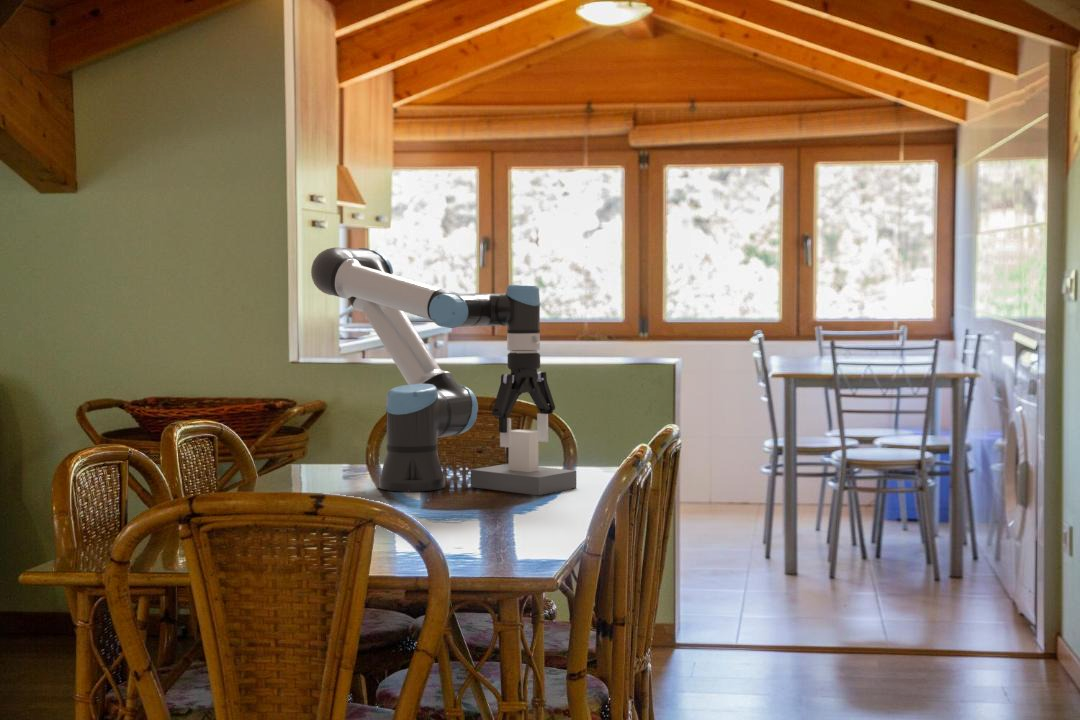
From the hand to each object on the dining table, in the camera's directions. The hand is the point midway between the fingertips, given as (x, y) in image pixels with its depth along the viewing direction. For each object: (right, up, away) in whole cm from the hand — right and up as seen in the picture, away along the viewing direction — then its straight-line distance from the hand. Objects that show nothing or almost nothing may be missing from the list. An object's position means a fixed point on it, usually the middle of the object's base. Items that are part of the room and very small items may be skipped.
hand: (524, 444), depth 299 cm
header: (0, -10, +1) cm, 10 cm away
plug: (0, -10, +1) cm, 10 cm away
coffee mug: (-2, -9, +27) cm, 29 cm away
